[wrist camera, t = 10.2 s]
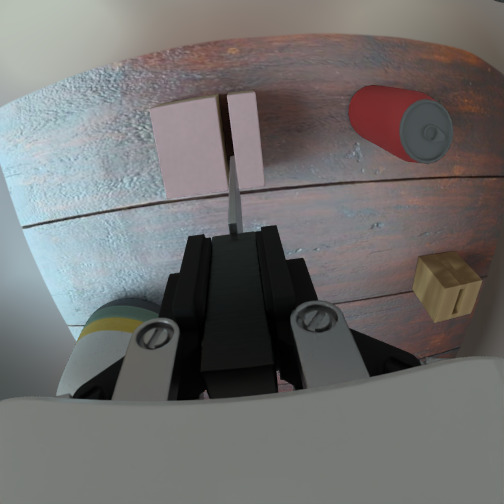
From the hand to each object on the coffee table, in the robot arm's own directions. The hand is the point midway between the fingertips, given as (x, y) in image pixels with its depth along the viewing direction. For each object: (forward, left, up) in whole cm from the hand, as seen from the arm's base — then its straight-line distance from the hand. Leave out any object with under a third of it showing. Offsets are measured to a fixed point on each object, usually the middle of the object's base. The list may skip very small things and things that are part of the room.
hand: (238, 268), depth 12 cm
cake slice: (-1, 0, -25) cm, 25 cm away
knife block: (-14, +32, -25) cm, 43 cm away
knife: (0, 0, -11) cm, 11 cm away
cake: (+3, -3, -25) cm, 26 cm away
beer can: (-15, +6, -26) cm, 30 cm away
